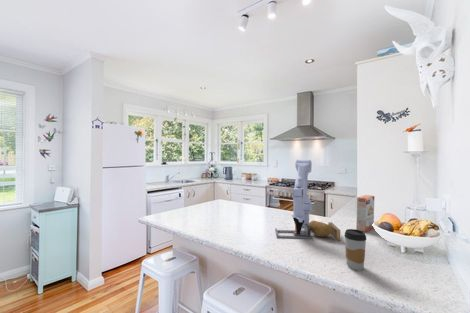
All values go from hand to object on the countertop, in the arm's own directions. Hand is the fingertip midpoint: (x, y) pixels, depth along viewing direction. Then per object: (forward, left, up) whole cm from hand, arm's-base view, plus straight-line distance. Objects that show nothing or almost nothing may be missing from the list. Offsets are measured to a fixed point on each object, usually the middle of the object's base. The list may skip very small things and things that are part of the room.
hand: (298, 230), depth 134 cm
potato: (0, +13, -3) cm, 13 cm away
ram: (0, +2, -2) cm, 3 cm away
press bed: (0, +4, -3) cm, 5 cm away
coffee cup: (+36, +17, -3) cm, 40 cm away
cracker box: (-15, +45, -3) cm, 47 cm away
